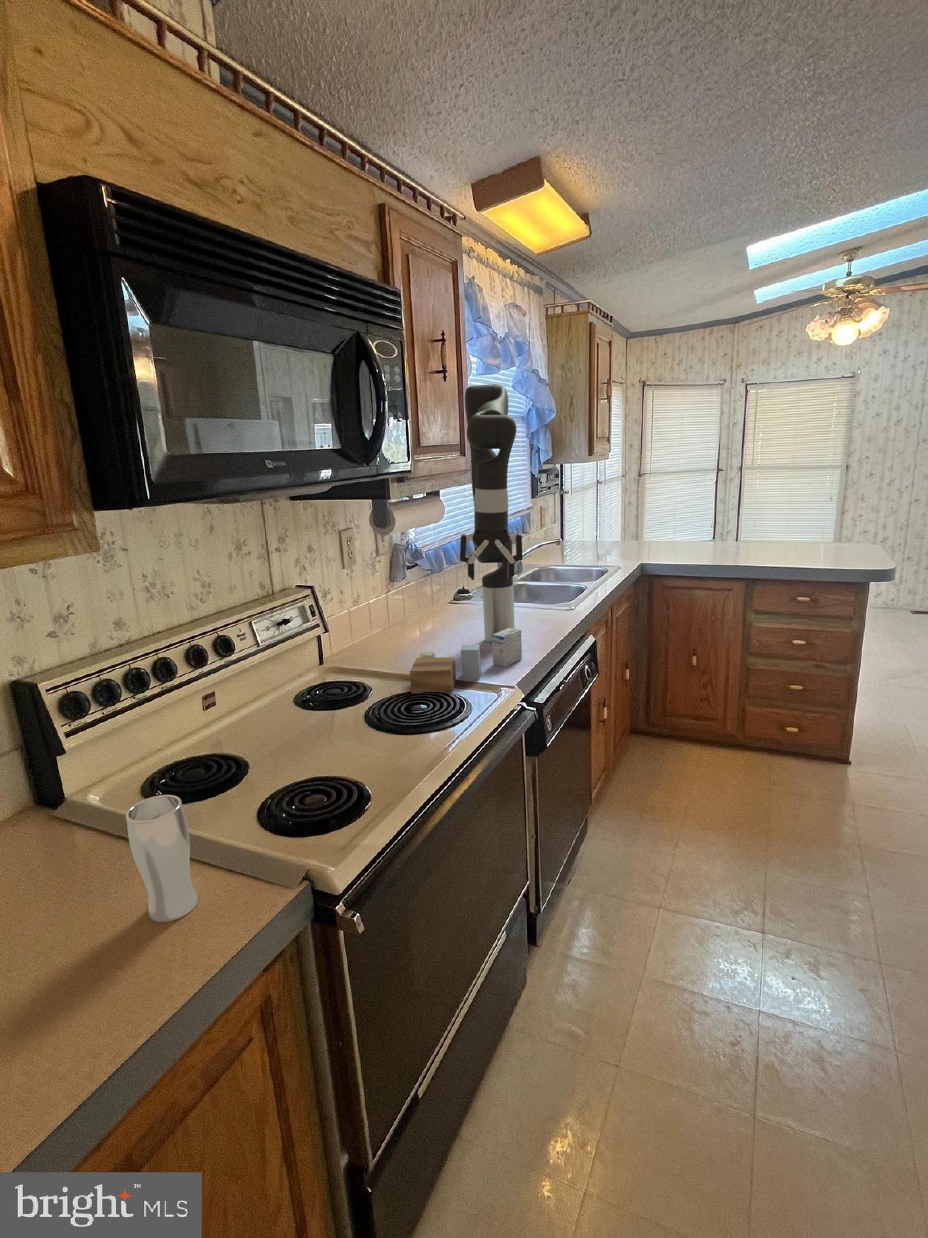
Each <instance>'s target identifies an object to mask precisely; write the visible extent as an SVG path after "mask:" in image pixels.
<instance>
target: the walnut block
mask: <svg viewBox="0 0 928 1238" xmlns="http://www.w3.org/2000/svg"><path fill="white" fill-rule="evenodd" d="M409 676H410V688H411V691H410V692H411V694H424V693H423V692H445V693H444V694H450V693H453V690H454V687H455V684H456V681H455V680H457V669H456V657H454V656H453V657H451V656H450V657H449V656H447V657H435V658H420V657H416V658H415V660H414V662H413V664H412V666H411V668H410V670H409Z"/></svg>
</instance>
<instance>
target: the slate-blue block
mask: <svg viewBox="0 0 928 1238" xmlns="http://www.w3.org/2000/svg"><path fill="white" fill-rule="evenodd" d="M480 645H481V644H462V645H461V648H460V661H461V662H460V664H461V679H480V680H481V676H482V670H481V669H482V667H481V651H480V650H481V649H480Z"/></svg>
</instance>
